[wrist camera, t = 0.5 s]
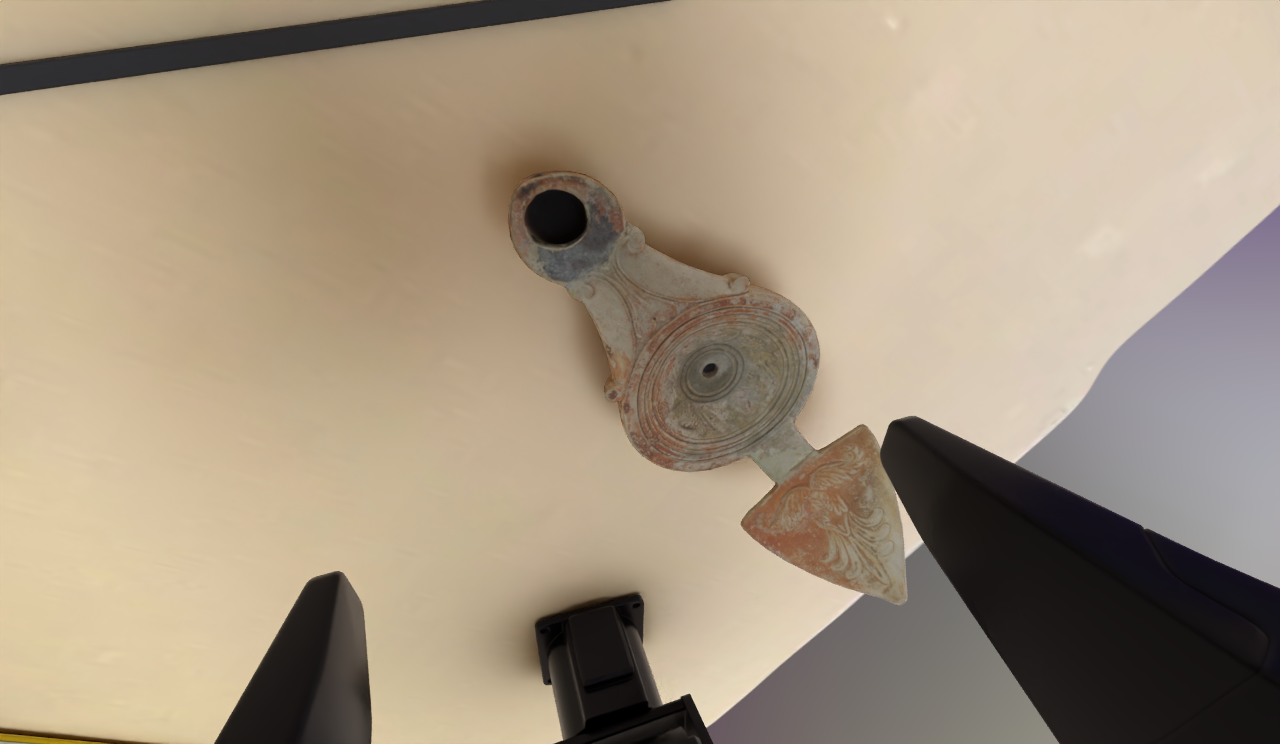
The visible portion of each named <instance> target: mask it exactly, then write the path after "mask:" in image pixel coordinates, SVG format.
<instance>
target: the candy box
mask: <svg viewBox="0 0 1280 744" xmlns="http://www.w3.org/2000/svg"><path fill="white" fill-rule="evenodd" d="M0 744H109V743H99V742H88V741H77V740H66V739H55V738H43V737H35V736H23V735H13V734H2V733H0Z"/></svg>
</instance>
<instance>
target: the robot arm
mask: <svg viewBox="0 0 1280 744" xmlns="http://www.w3.org/2000/svg"><path fill="white" fill-rule="evenodd" d="M880 460H881V463H882V466H883V468H884V470H885V472H886V473H887V475H888V477H889V479H890V481H891V483H892V485H893V487H894V488H895V490H896V492H897V494H898V496H899V498H900V500H901V501H902V503H903V505H904V507H905V509H906V511H907V513H908V515H909V516H910V518H911V520H912V522H913V524H914V526H915V528H916V529H917V531H918V533H919V535H920V536H921V538H922V540H923V541H924V543H925V544H926V546H927V548H928V549H929V551H930V552H931V554H932V555H933V557H934V558H935V560H936V561H937V563H938V564H939V565H940V567H941V569H942V570H943V572H944V573H945V574H946V576H947V577H948V579H949V580H950V582H951V583H952V585H953V586H954V588H955V589H956V591H957V592H958V594H959V595H960V597H961V598H962V600H963V601H964V603H965V604H966V606H967V607H968V608H969V610H970V612H971V613H972V615H973V616H974V617H975V619H976V620H977V622H978V623H979V625H980V626H981V628H982V629H983V631H984V632H985V634H986V635H987V637H988V638H989V640H990V641H991V643H992V644H993V646H994V647H995V649H996V650H997V652H998V653H999V654H1000V656H1001V658H1002V659H1003V660H1004V662H1005V663H1006V665H1007V666H1008V668H1009V669H1010V671H1011V672H1012V674H1013V675H1014V676H1015V678H1016V680H1017V681H1018V683H1019V684H1020V686H1021V687H1022V689H1023V690H1024V692H1025V693H1026V695H1027V696H1028V698H1029V699H1030V701H1031V702H1032V704H1033V705H1034V706H1035V708H1036V709H1037V711H1038V712H1039V714H1040V715H1041V717H1042V718H1043V720H1044V721H1045V723H1046V724H1047V726H1048V727H1049V729H1050V730H1051V732H1052V733H1053V735H1054V736H1055V738H1056V739H1057V741H1058V742H1059V744H1280V588H1278V587H1275V586H1273V585H1270V584H1268V583H1266V582H1263V581H1261V580H1259V579H1256V578H1254V577H1251V576H1249V575H1247V574H1245V573H1242V572H1240V571H1238V570H1236V569H1233V568H1231V567H1229V566H1226V565H1224V564H1222V563H1220V562H1217V561H1215V560H1213V559H1211V558H1209V557H1206V556H1204V555H1202V554H1200V553H1198V552H1195V551H1194V550H1191V549H1189V548H1187V547H1185V546H1183V545H1181V544H1179V543H1176V542H1174V541H1172V540H1170V539H1168V538H1166V537H1164V536H1162V535H1160V534H1158V533H1156V532H1154V531H1152V530H1150V529H1144V528H1143V527H1142V526H1141V525H1139V524H1137V523H1135V522H1133V521H1131V520H1129V519H1127V518H1125V517H1123V516H1121V515H1119V514H1116V513H1114V512H1112V511H1110V510H1108V509H1106V508H1104V507H1102V506H1100V505H1098V504H1096V503H1094V502H1092V501H1090V500H1088V499H1085V498H1084V497H1081V496H1079V495H1077V494H1075V493H1073V492H1071V491H1069V490H1067V489H1065V488H1063V487H1061V486H1059V485H1057V484H1055V483H1053V482H1051V481H1048V480H1047V479H1044V478H1042V477H1040V476H1038V475H1036V474H1034V473H1032V472H1030V471H1028V470H1026V469H1024V468H1022V467H1020V466H1017V465H1016V464H1014V463H1012V462H1010V461H1007V460H1005V459H1003V458H1001V457H999V456H997V455H995V454H993V453H991V452H989V451H987V450H985V449H983V448H981V447H979V446H977V445H975V444H972V443H970V442H968V441H966V440H964V439H962V438H960V437H958V436H956V435H954V434H952V433H950V432H948V431H946V430H944V429H942V428H940V427H938V426H935V425H933V424H931V423H929V422H927V421H925V420H923V419H921V418H919V417H916V416H908V417H905V418H901V419H897V420H894V421H892V422H891V423H890V425H889V427H888V430H887V433H886V435H885V438H884V441H883V444H882V447H881V450H880ZM643 615H644V603H643V600H642V597H641V596H640V595H632V596H629V597H625V598H621V599H618V600H614V601H610V602H607V603H603V604H599V605H596V606H592V607H588V608H585V609H581V610H577V611H574V612H570V613H566V614H563V615H559V616H555V617H552V618H548V619H544V620H541V621H539V622H538V623H536V625H535V632H536V638H537V645H538V651H539V657H540V664H541V670H542V677H543V682H544V684H545V685H552V687H553V692H554V697H555V702H556V707H557V712H558V717H559V722H560V727H561V732H562V737H563V741H560V742H557V743H554V744H713V742H712V740H711V738H710V736H709V734H708V732H707V729H706V727H705V725H704V723H703V721H702V719H701V716H700V714H699V712H698V710H697V708H696V706H695V704H694V701H693V699H692V697H691V695H690V694H687V695H684V696H681V699H678V700H675V701H673V702H670V703H667V704H664V705H663V704H662V701H661V698H660V695H659V692H658V689H657V686H656V683H655V680H654V677H653V674H652V672H651V669H650V666H649V663H648V660H647V657H646V654H645V651H644V648H643ZM371 733H372V716H371V699H370V686H369V673H368V660H367V647H366V633H365V620H364V611H363V607H362V603H361V600H360V599H359V597H358V595H357V594H356V592H355V590H354V589H353V587H352V586H351V584H350V582H349V581H348V579H347V578H346V576H345V575H344V574H343V573H342V572H340V571H335V572H331V573H328V574H324V575H320V576H317V577H314V578H312V579H311V580H309V581H308V582H307V583H306V585H305V587H304V588H303V590H302V592H301V594H300V595H299V597H298V599H297V601H296V602H295V604H294V606H293V607H292V609H291V611H290V613H289V614H288V616H287V618H286V620H285V621H284V623H283V625H282V627H281V628H280V630H279V632H278V634H277V635H276V637H275V639H274V641H273V642H272V644H271V646H270V647H269V649H268V651H267V653H266V654H265V656H264V658H263V660H262V661H261V663H260V665H259V667H258V668H257V670H256V672H255V674H254V675H253V677H252V679H251V680H250V682H249V684H248V686H247V687H246V689H245V691H244V693H243V694H242V696H241V698H240V700H239V701H238V703H237V705H236V707H235V708H234V710H233V712H232V713H231V715H230V717H229V719H228V720H227V722H226V724H225V726H224V727H223V729H222V731H221V733H220V734H219V736H218V738H217V740H216V741H215V743H214V744H371Z"/></svg>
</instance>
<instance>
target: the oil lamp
mask: <svg viewBox="0 0 1280 744" xmlns="http://www.w3.org/2000/svg"><path fill="white" fill-rule="evenodd" d="M508 224H509V230H510V237H511V240H512V242H513V245H514V248H515V250H516V251H517V253H518V255H519V256H520V258H521V259H522V260H523V262H524V263H525V264H526V265H527V266H528V267H529V268H530V269H531V270H532V271H534V272H535V273H536V274H537V275H539V276H541V277H543V278H545V279H547V280H549V281H551V282H554V283H557V284H560V285H562V286H565V287H566V288H567V290H568V292H569V294H570V295H571V297H573V298H574V299H575V300H582V301H583V303H584V305H585V307H586V308H587V310H588V312H589V314H590V315H591V317H592V319H593V321H594V323H595V326H596V328H597V331H598V333H599V335H600V338H601V340H602V343H603V346H604V349H605V352H606V355H607V358H608V362H609V366H610V370H611V376H610V377H609V379H608V380H607V381H606V384H605V386H604V392H605V398H606V400H607V401H609V402H617V401H618V404H619V411H620V416H621V421H622V425H623V427H624V430H625V432H626V435H627V437H628V439H629V441H630V443H631V444H632V445H633V447H634V448H635V449H636V450H637V451H638V452H639V453H640V454H641V455H642V456H643V457H645V458H646V459H648V460H650V461H651V462H653V463H654V464H656V465H659V466H661V467H663V468H667V469H670V470H676V471H685V472H694V471H704V470H711V469H715V468H718V467H721V466H725V465H728V464H730V463H733V462H735V461H737V460H740V459H742V458H744V457H751V458H752V459H753V460H754V461H755V462H756V464H757V465H758V466H759V467H760V468H761V469H762V470H763V471H764V472H765V473H766V474H767V475H768V476H769V477H770V478H771V479H772V480H773V481H774V482H775V486H774V487H773V488H772V489H771V490H770V491H769V492H768V493H767V494H766V495H765V496H764V497H763V498H762V499H761V500H760V501H759V502H758V503H757V504H756V505H755V506H754V507H753V508H751V509H750V510H749V511H748V513H747V514H746V515H745V516H744V518H743V519H742V521H741V526H742V527H743V529H744V530H745V531H746V532H747V533H748V534H749V535H750V536H751V537H752V538H753V539H755V540H756V541H757V542H759V543H760V544H761V545H762V546H764V547H765V548H766V549H768V550H769V551H771V552H772V553H774V554H776V555H777V556H779V557H780V558H782V559H784V560H785V561H787V562H789V563H791V564H793V565H795V566H797V567H799V568H801V569H803V570H805V571H807V572H809V573H811V574H813V575H815V576H817V577H820V578H822V579H824V580H826V581H829V582H831V583H834V584H836V585H839V586H842V587H845V588H848V589H852V590H855V591H858V592H861V593H865V594H869V595H872V596H876V597H879V598H882V599H884V600H887V601H889V602H891V603H893V604H896V605H902V604H904V603H905V602H906V600H907V598H908V593H907V583H906V568H905V552H904V538H903V529H902V522H901V517H900V512H899V507H898V503H897V498H896V494H895V490H894V487H893V485H892V483H891V481H890V479H889V477H888V475H887V473H886V472H885V470H884V468H883V466H882V463H881V460H880V450H881V448H880V446H879V444H878V442H877V440H876V438H875V436H874V435H873V433H872V432H871V431H870V430H869V428H868V427H867V426H865V425H864V424H862V425H859V426H857V427H856V428H854V429H853V430H851V431H850V432H848V433H846V434H845V435H843V436H842V437H840V438H839V439H837V440H836V441H834V442H832V443H831V444H829V445H828V446H826V447H824V448H822V449H820V450H815V449H814V448H813V447H812V446H811V445H810V444H809V443H808V442H807V441H806V440H805V439H804V437H803V436H802V435H801V434H800V432H799V431H798V430H797V428H796V427H795V425H794V423H795V419H796V418H797V416H798V414H799V413H800V411H801V410H802V408H803V406H804V404H805V403H806V401H807V399H808V397H809V396H810V394H811V392H812V390H813V387H814V383H815V379H816V375H817V371H818V367H819V360H820V349H819V342H818V339H817V335H816V331H815V329H814V327H813V326H812V324H811V322H810V320H809V319H808V318H807V316H806V315H805V314H804V313H803V311H802V310H801V309H800V308H799V307H797V306H796V305H795V304H794V303H792V302H791V301H790V300H788V299H786V298H785V297H783V296H781V295H779V294H777V293H774V292H772V291H770V290H767V289H764V288H761V287H757V286H753V285H750V281H749V279H748V278H747V277H746V276H743V275H740V274H737V273H728V274H725V275H723V276H721V275H716V274H712V273H709V272H706V271H703V270H700V269H697V268H694V267H691V266H688V265H686V264H684V263H681V262H679V261H677V260H674V259H673V258H671V257H669V256H667V255H665V254H663V253H661V252H659V251H657V250H655V249H653V248H652V247H650V246H648V245H647V244H645V243H644V242H645V237H644V234H643V233H642V231H641V230H640V229H639V228H637V227H636V226H634V225H632V224H629V223H628V222H626V219H625V216H624V212H623V209H622V207H621V206H620V204H619V202H618V201H617V199H616V197H615V196H614V194H613V193H612V192H611V191H609V190H608V189H607V188H606V187H605V186H604V185H603V184H601V183H600V182H599V181H597V180H595V179H593V178H591V177H589V176H587V175H585V174H581V173H575V172H570V171H550V172H542V173H537V174H534V175H531V176H529V177H526V178H524V179H522V180H520V181H519V183H518V184H517V185H516V187H515V189H514V191H513V194H512V197H511V201H510V205H509V214H508Z"/></svg>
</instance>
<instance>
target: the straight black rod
mask: <svg viewBox="0 0 1280 744" xmlns="http://www.w3.org/2000/svg"><path fill="white" fill-rule="evenodd" d="M662 1H670V0H482V1H475V2H467V3H460V4H452V5H445V6H437V7H430V8H422V9H415V10H407V11H400V12H392V13H384V14H377V15H369V16H362V17H354V18H347V19H339V20H332V21H324V22H317V23H309V24H302V25H294V26H287V27H279V28H272V29H264V30H257V31H249V32H241V33H234V34H226V35H219V36H211V37H204V38H196V39H189V40H181V41H174V42H166V43H159V44H151V45H144V46H136V47H129V48H121V49H114V50H106V51H98V52H91V53H83V54H76V55H68V56H61V57H53V58H46V59H38V60H31V61H23V62H16V63H8V64H1V65H0V95H4V94H11V93H18V92H25V91H32V90H39V89H47V88H54V87H61V86H68V85H75V84H82V83H89V82H96V81H103V80H110V79H117V78H124V77H132V76H139V75H146V74H153V73H160V72H167V71H174V70H181V69H188V68H195V67H202V66H209V65H216V64H224V63H231V62H238V61H245V60H252V59H259V58H266V57H273V56H280V55H287V54H294V53H301V52H308V51H316V50H323V49H330V48H337V47H344V46H351V45H358V44H365V43H372V42H379V41H386V40H393V39H401V38H408V37H415V36H422V35H429V34H436V33H443V32H450V31H457V30H464V29H471V28H478V27H485V26H493V25H500V24H507V23H514V22H521V21H528V20H535V19H542V18H549V17H556V16H563V15H570V14H578V13H585V12H592V11H599V10H606V9H613V8H620V7H627V6H634V5H641V4H648V3H655V2H662Z"/></svg>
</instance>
